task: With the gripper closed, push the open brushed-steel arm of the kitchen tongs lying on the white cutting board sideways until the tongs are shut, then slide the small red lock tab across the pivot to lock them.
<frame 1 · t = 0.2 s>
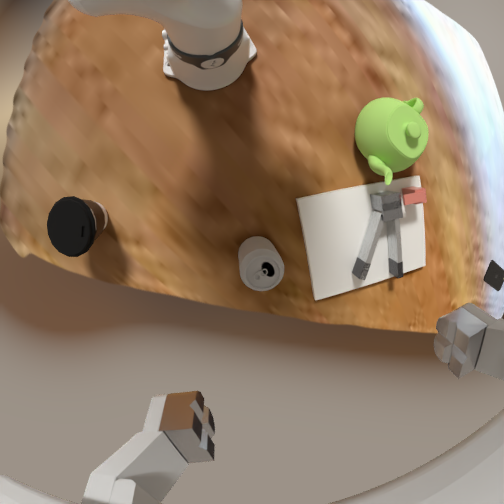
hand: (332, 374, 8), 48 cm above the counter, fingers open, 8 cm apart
board: (369, 234, 57), on the counter
teapot: (377, 140, 52), on the counter
smartphone: (494, 275, 65), on the counter
coffee cup: (96, 217, 52), on the counter
can: (256, 253, 56), on the counter
tongs arm: (369, 245, 54), point 4 cm above the counter, hinge at 28.0°
lock tab: (409, 196, 51), point 5 cm above the counter, slide at 0.0 cm
tongs fixed: (381, 206, 54), resting on board
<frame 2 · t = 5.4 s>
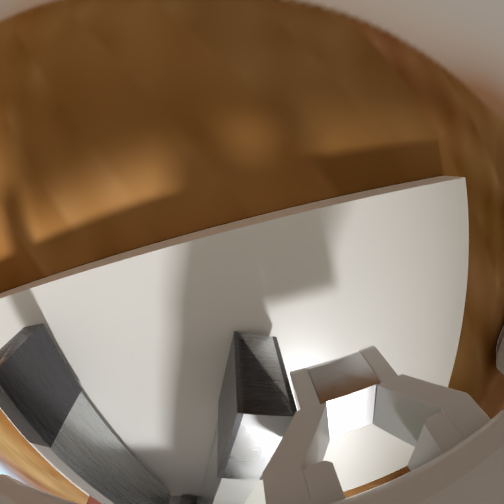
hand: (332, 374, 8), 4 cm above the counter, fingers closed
board: (198, 435, 13), on the counter
tongs arm: (224, 476, 9), point 4 cm above the counter, hinge at 25.9°, touching gripper
tongs fixed: (189, 495, 13), resting on board
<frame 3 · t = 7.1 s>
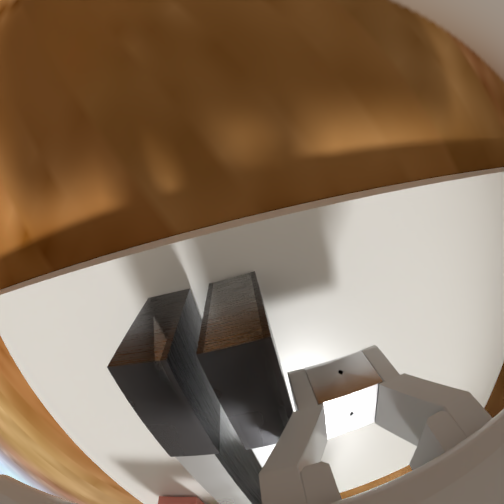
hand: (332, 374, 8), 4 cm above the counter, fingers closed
board: (316, 411, 13), on the counter
tongs arm: (285, 449, 9), point 4 cm above the counter, hinge at -1.7°, touching gripper
tongs fixed: (283, 485, 13), resting on board
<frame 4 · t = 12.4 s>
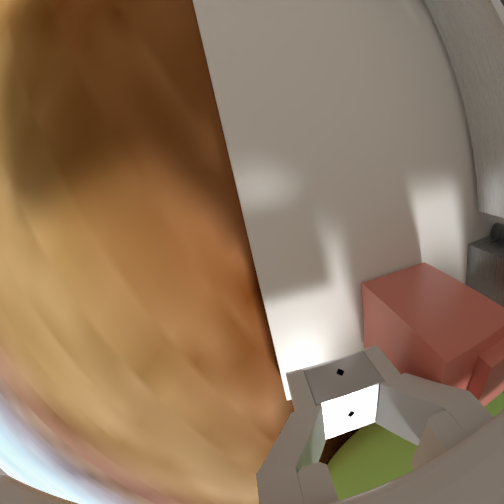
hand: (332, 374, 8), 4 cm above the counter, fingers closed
board: (491, 117, 10), on the counter
teapot: (413, 416, 15), on the counter
lock tab: (469, 323, 7), point 5 cm above the counter, slide at 0.7 cm, touching gripper
tongs fixed: (494, 233, 10), resting on board
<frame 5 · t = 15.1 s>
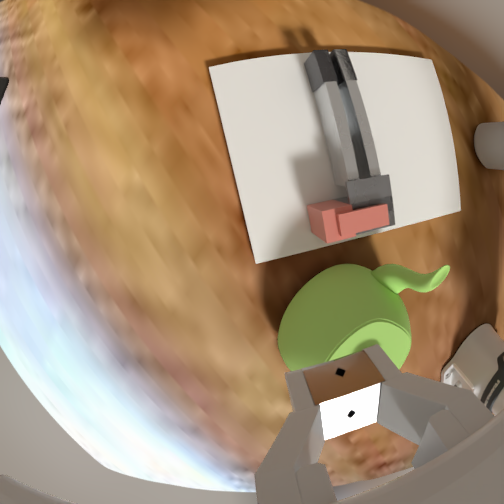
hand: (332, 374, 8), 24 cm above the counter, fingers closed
board: (359, 140, 29), on the counter
teapot: (337, 306, 34), on the counter
can: (482, 145, 30), on the counter
tongs arm: (352, 115, 24), point 4 cm above the counter, hinge at -1.8°
lock tab: (347, 216, 26), point 4 cm above the counter, slide at 3.7 cm
tongs fixed: (351, 195, 29), resting on board
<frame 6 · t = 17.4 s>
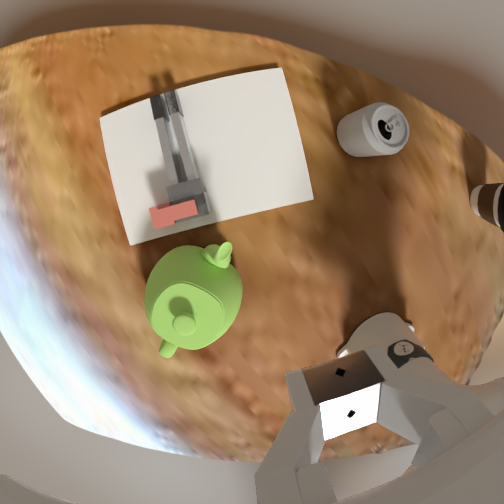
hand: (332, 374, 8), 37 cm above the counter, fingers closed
board: (202, 152, 40), on the counter
teapot: (198, 280, 46), on the counter
coffee cup: (476, 199, 46), on the counter
can: (354, 135, 41), on the counter
tongs arm: (182, 137, 36), point 4 cm above the counter, hinge at -1.8°
lock tab: (176, 210, 38), point 4 cm above the counter, slide at 3.7 cm
tongs fixed: (191, 194, 40), resting on board
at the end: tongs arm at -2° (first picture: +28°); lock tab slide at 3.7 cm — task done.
